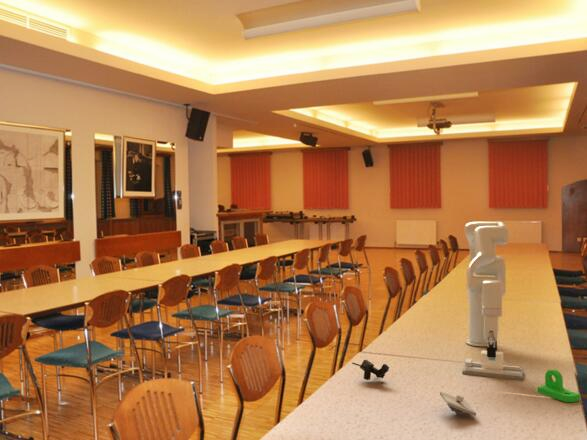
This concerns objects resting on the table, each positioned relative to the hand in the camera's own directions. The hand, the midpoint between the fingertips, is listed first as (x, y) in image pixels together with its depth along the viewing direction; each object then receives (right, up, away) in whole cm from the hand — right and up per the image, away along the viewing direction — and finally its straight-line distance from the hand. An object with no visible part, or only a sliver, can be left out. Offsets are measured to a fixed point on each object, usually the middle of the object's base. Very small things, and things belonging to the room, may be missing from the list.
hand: (492, 353), depth 208 cm
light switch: (-28, -9, -34) cm, 45 cm away
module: (0, -7, 0) cm, 7 cm away
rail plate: (0, -8, -1) cm, 8 cm away
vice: (-46, -7, -11) cm, 47 cm away
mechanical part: (+13, -9, -26) cm, 31 cm away
